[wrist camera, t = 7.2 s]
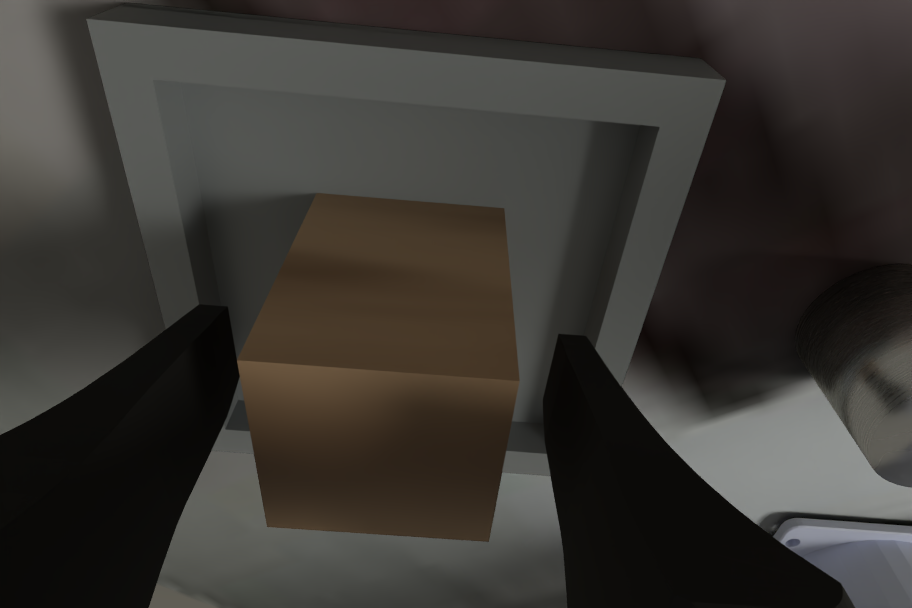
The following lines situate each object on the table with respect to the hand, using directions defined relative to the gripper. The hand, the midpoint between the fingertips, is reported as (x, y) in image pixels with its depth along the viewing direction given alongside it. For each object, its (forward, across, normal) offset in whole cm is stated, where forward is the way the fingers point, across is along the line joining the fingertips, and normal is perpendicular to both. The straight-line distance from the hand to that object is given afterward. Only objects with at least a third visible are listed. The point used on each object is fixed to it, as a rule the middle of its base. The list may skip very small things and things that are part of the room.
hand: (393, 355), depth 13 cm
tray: (+3, 0, 0) cm, 3 cm away
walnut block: (+3, 0, 0) cm, 3 cm away
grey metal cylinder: (+3, -13, 0) cm, 13 cm away
